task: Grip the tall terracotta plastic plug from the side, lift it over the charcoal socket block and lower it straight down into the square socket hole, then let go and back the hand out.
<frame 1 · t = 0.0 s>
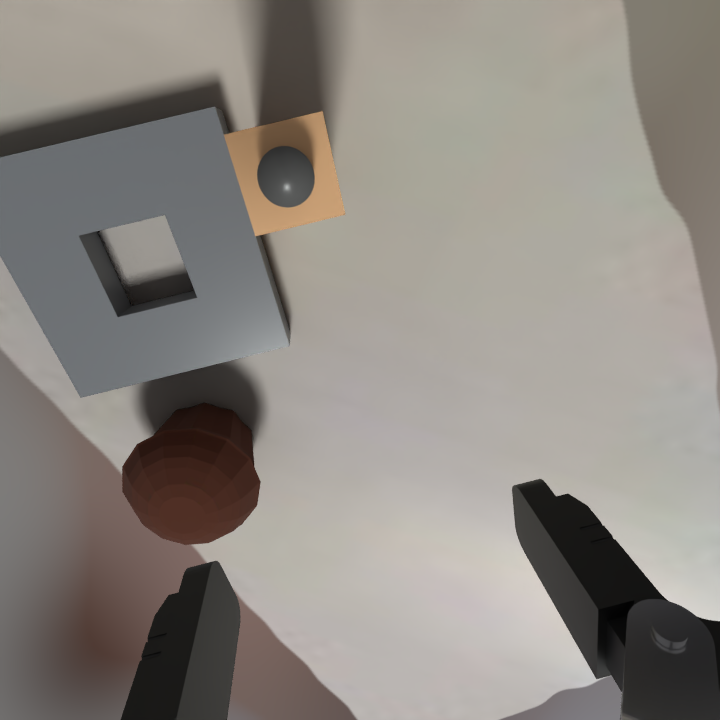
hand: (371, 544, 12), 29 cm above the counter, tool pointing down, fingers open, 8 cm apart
muffin: (208, 441, 44), on the counter
plug: (294, 170, 35), on the counter
socket: (152, 260, 36), on the counter
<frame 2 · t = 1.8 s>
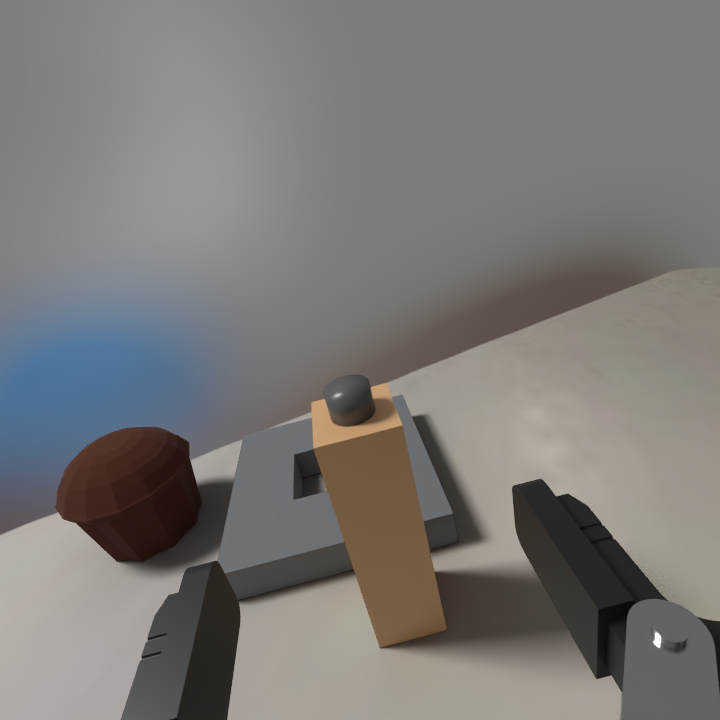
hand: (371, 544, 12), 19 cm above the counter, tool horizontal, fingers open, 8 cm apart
muffin: (156, 525, 43), on the counter
plug: (406, 607, 30), on the counter
socket: (335, 491, 42), on the counter
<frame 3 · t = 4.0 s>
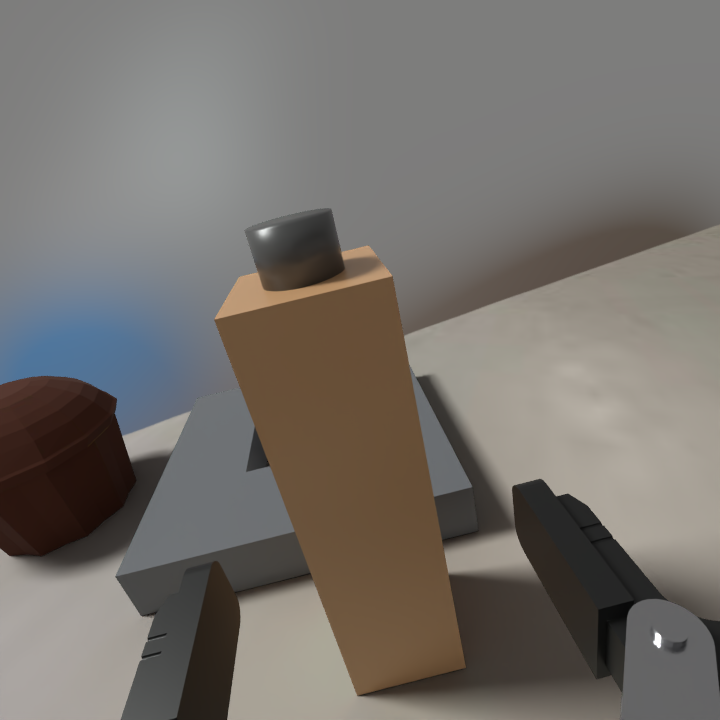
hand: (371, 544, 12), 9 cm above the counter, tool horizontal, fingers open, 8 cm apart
muffin: (74, 509, 33), on the counter
plug: (400, 628, 19), on the counter
socket: (309, 465, 31), on the counter
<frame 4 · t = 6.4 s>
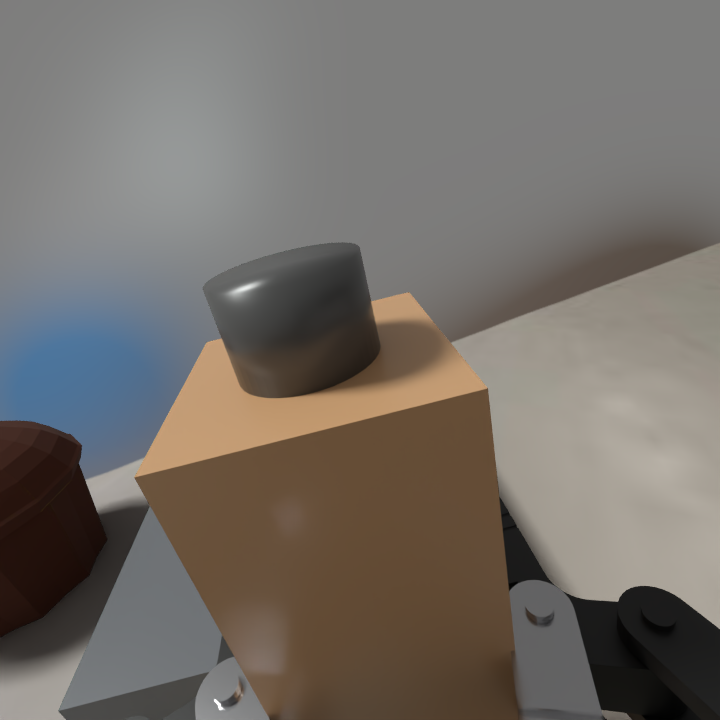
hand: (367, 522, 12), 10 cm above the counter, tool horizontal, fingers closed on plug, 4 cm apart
muffin: (32, 576, 27), on the counter
socket: (312, 526, 26), on the counter
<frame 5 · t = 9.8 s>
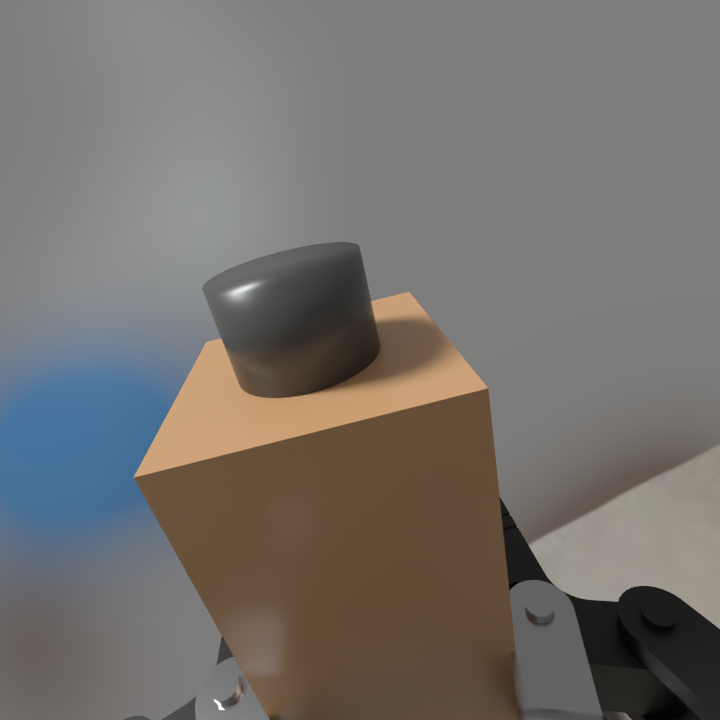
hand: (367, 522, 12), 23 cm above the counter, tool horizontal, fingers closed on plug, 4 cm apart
when the fingers open (10 cm above the counter, at t = 13.4 s): plug stays where it is, resting in socket.
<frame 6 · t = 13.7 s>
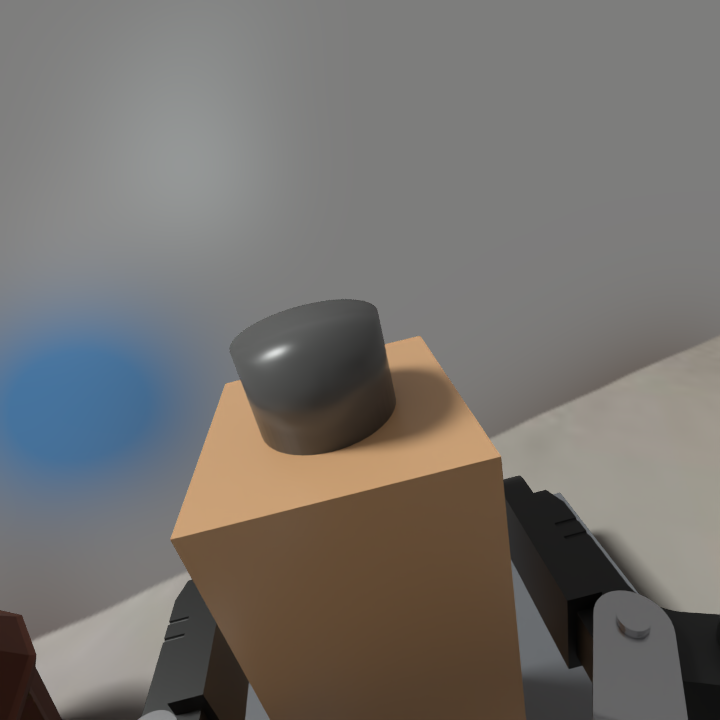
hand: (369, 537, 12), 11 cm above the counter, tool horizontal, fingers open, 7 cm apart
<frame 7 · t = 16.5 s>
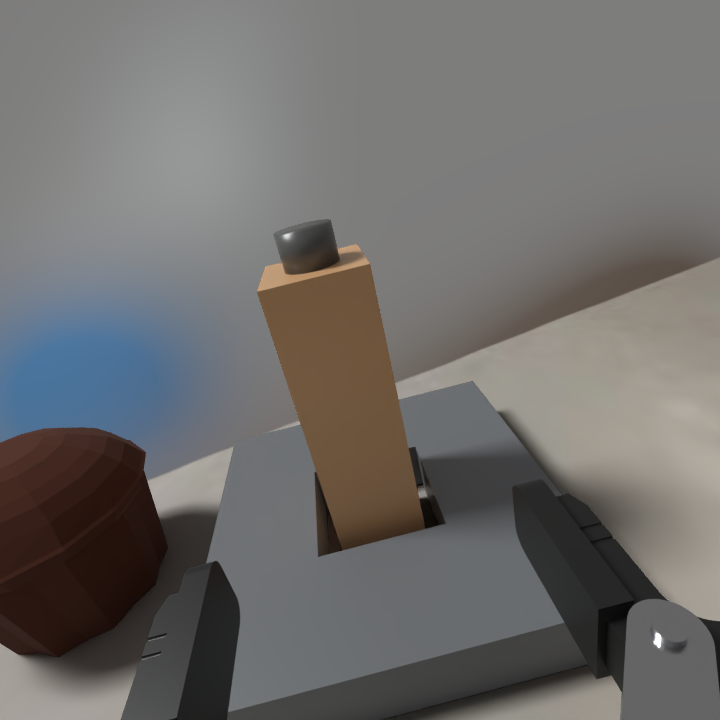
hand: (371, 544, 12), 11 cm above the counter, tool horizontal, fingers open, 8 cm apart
muffin: (94, 585, 27), on the counter
plug: (384, 534, 25), resting in socket
socket: (382, 533, 25), on the counter
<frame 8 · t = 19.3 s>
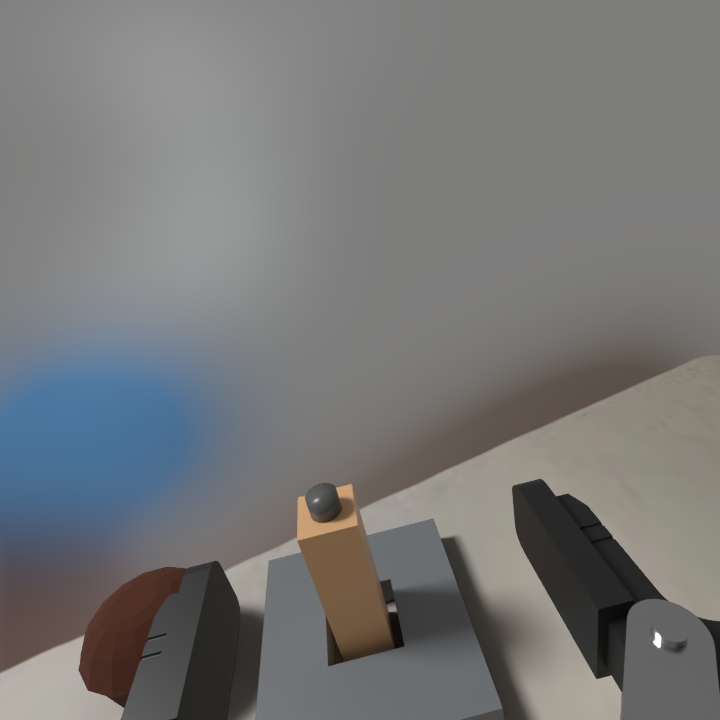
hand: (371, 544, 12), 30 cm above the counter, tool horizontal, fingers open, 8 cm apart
muffin: (181, 669, 41), on the counter
plug: (369, 640, 40), resting in socket
socket: (368, 640, 40), on the counter
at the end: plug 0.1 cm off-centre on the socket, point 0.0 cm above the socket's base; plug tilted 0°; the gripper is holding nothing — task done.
